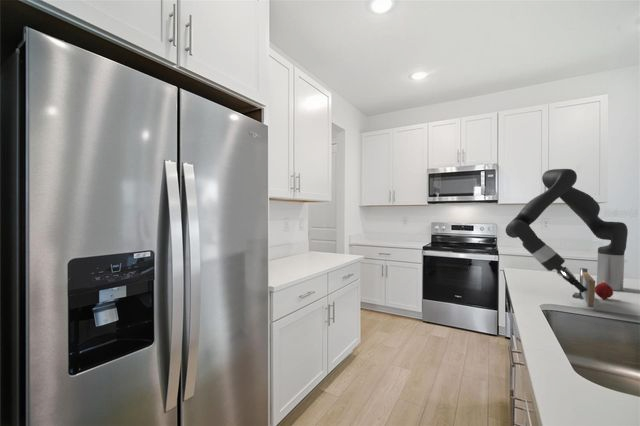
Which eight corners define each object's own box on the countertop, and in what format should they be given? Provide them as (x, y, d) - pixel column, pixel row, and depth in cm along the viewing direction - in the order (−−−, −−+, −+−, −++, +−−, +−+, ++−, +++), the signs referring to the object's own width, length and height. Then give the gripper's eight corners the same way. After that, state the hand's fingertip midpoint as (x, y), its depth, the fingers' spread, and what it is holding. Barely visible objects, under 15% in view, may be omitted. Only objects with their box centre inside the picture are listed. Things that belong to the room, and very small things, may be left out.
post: (575, 294, 129) (576, 266, 129) (593, 297, 125) (594, 268, 124) (572, 297, 125) (573, 268, 125) (591, 300, 121) (592, 270, 120)
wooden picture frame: (580, 295, 124) (581, 271, 124) (586, 296, 123) (587, 272, 123) (587, 307, 109) (588, 280, 109) (594, 308, 108) (595, 280, 108)
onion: (616, 302, 119) (617, 283, 119) (600, 301, 121) (601, 282, 120) (605, 297, 125) (606, 279, 125) (590, 296, 126) (591, 279, 126)
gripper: (556, 254, 115) (596, 289, 108) (555, 250, 126) (591, 282, 119) (539, 264, 119) (577, 300, 112) (539, 260, 129) (573, 292, 122)
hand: (584, 290), depth 115 cm, fingers closed
